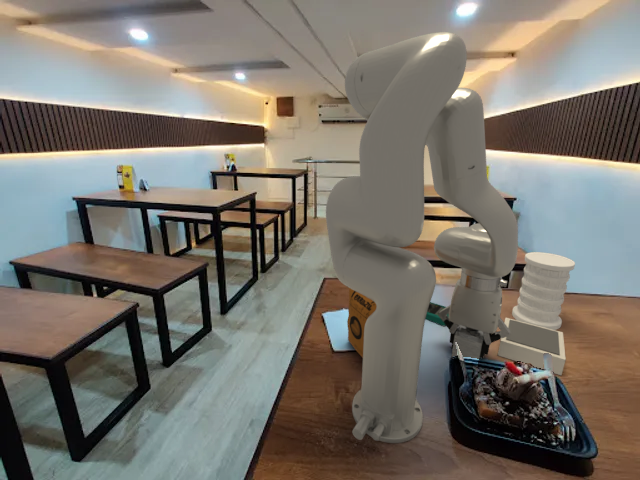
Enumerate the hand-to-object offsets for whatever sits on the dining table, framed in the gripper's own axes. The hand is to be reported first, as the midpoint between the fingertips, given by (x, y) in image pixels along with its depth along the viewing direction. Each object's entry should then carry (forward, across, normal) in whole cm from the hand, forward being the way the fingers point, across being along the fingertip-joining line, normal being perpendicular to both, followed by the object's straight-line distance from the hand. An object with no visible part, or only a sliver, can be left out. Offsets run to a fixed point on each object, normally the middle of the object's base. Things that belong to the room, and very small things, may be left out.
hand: (468, 350), depth 74 cm
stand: (+1, -12, -9) cm, 15 cm away
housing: (+1, 0, 0) cm, 1 cm away
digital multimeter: (+1, +14, -13) cm, 19 cm away
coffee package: (+1, +19, +12) cm, 23 cm away
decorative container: (+1, -13, -27) cm, 30 cm away
